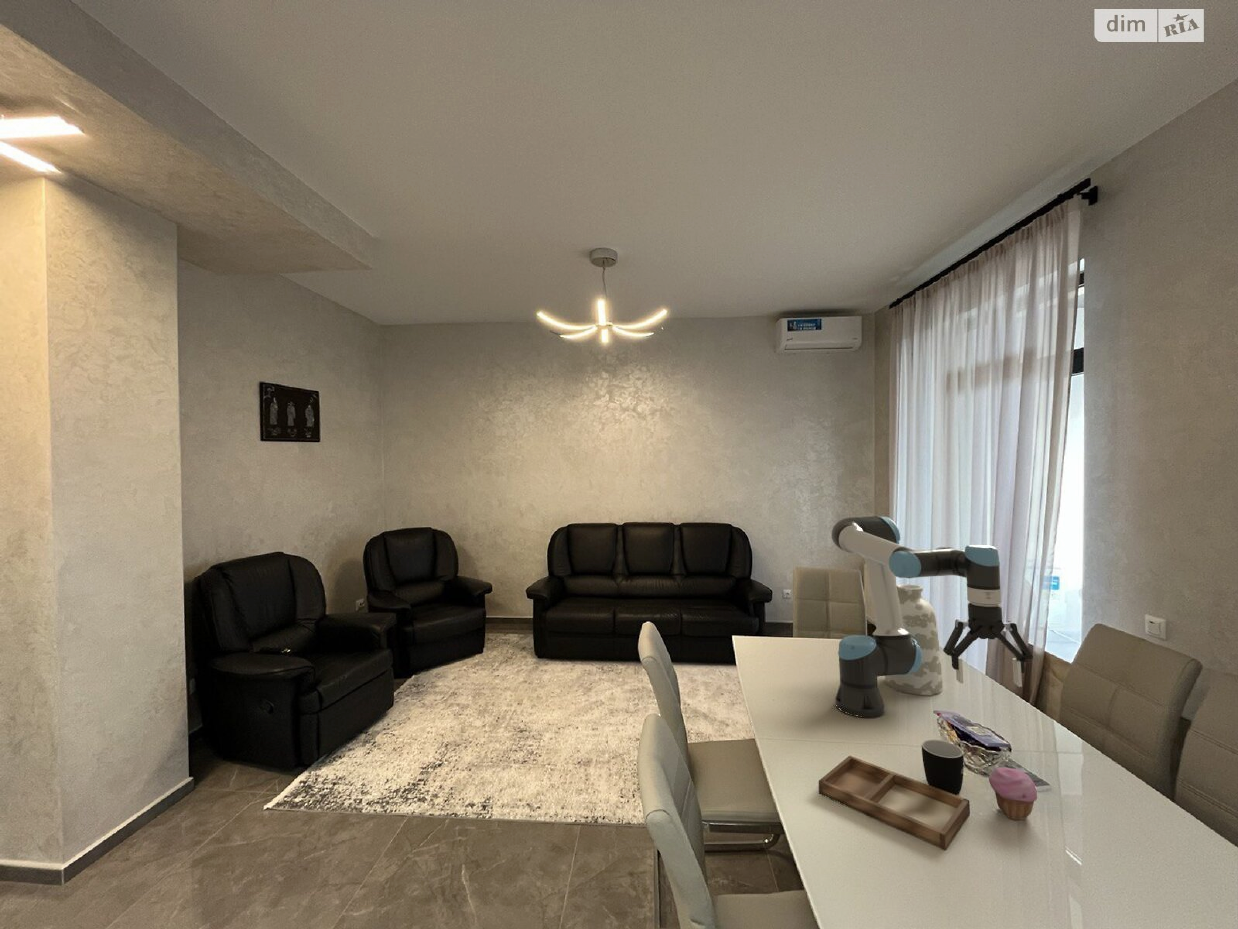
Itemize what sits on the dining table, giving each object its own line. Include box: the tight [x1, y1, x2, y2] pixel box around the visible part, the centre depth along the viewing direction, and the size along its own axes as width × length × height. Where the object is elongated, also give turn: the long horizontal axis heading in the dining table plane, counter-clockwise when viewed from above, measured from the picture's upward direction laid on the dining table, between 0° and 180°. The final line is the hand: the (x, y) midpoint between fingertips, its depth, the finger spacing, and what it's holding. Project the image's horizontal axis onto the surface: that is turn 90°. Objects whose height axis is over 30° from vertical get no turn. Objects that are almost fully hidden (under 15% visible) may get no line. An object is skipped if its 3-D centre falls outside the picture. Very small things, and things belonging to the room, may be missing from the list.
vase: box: [884, 583, 944, 696], centre depth 197 cm, size 20×19×38 cm
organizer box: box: [818, 755, 971, 851], centre depth 127 cm, size 28×17×3 cm, turn 42°
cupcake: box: [988, 766, 1038, 821], centre depth 121 cm, size 9×9×10 cm
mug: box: [921, 739, 965, 796], centre depth 133 cm, size 12×9×10 cm
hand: (988, 683), depth 141 cm, fingers open, 13 cm apart
